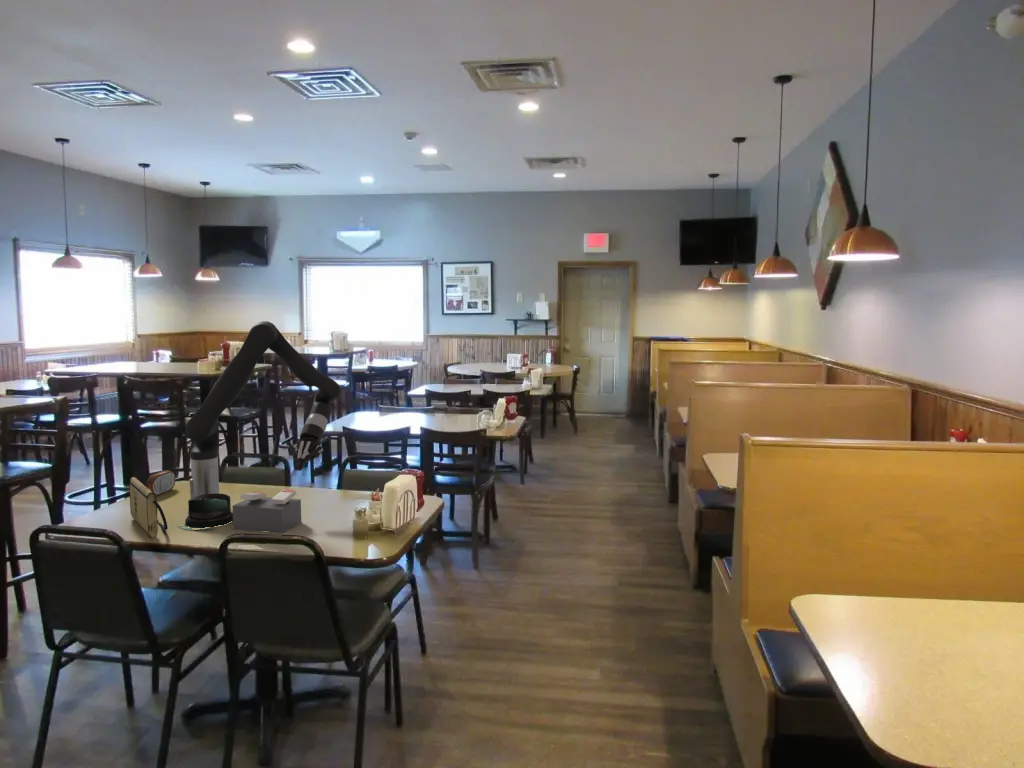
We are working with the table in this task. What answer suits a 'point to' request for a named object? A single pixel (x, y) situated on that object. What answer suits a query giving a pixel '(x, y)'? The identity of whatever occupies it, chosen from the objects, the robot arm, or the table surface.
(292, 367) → the robot arm
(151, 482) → the tin
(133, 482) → the clutch purse
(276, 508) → the switch box
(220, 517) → the dark green hat
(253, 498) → the left rocker
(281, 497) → the right rocker
